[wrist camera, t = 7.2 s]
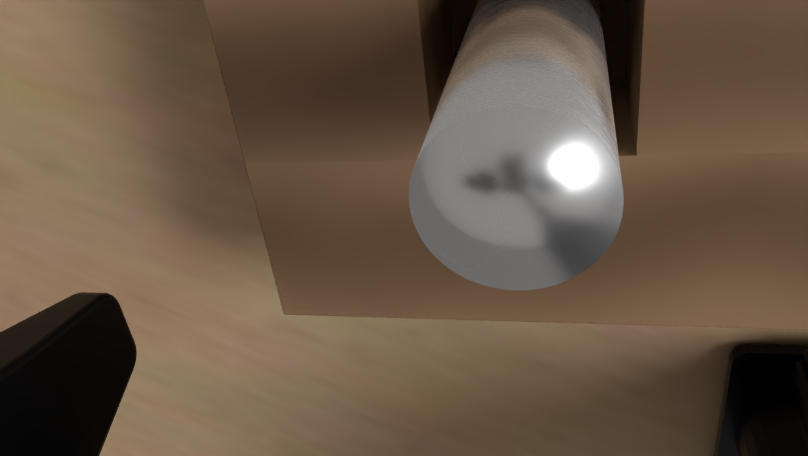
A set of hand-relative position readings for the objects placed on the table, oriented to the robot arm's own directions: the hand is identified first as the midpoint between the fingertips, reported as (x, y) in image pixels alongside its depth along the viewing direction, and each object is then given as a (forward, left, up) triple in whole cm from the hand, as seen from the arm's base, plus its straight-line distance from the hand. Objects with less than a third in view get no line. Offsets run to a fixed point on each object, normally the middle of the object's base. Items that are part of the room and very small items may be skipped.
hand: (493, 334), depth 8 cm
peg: (0, 0, -13) cm, 13 cm away
